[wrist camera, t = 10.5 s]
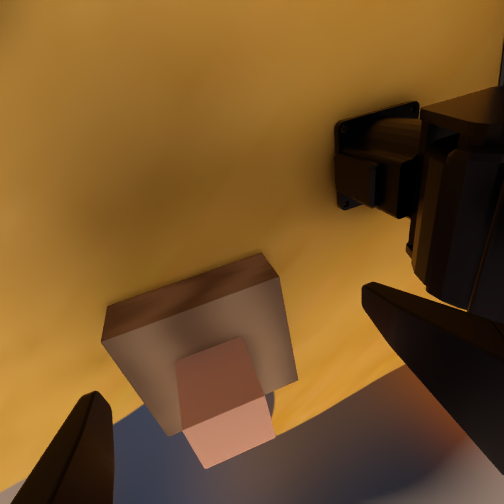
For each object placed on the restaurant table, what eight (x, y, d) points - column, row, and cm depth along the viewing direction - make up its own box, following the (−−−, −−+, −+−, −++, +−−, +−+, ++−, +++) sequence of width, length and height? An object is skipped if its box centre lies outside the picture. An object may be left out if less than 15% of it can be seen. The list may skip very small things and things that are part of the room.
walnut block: (259, 250, 23) (279, 276, 20) (280, 347, 29) (298, 380, 26) (108, 302, 21) (100, 342, 18) (165, 395, 27) (168, 437, 24)
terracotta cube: (241, 336, 21) (264, 395, 17) (252, 377, 24) (275, 437, 20) (174, 361, 20) (182, 430, 16) (194, 400, 23) (205, 469, 19)
